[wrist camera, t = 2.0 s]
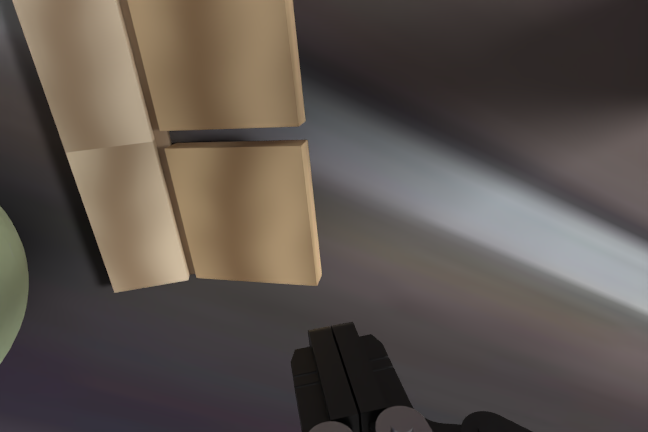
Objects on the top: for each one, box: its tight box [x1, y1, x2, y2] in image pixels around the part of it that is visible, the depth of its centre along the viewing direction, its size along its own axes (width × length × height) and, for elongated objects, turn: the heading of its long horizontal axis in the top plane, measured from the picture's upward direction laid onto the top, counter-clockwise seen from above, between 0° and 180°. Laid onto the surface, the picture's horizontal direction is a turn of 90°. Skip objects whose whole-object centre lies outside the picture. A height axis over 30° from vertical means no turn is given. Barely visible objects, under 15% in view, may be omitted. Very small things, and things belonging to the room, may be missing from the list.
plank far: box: [165, 140, 322, 286], centre depth 25 cm, size 8×8×1 cm
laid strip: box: [12, 0, 195, 293], centre depth 24 cm, size 5×18×1 cm, turn 5°
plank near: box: [127, 0, 305, 131], centre depth 21 cm, size 8×8×1 cm
